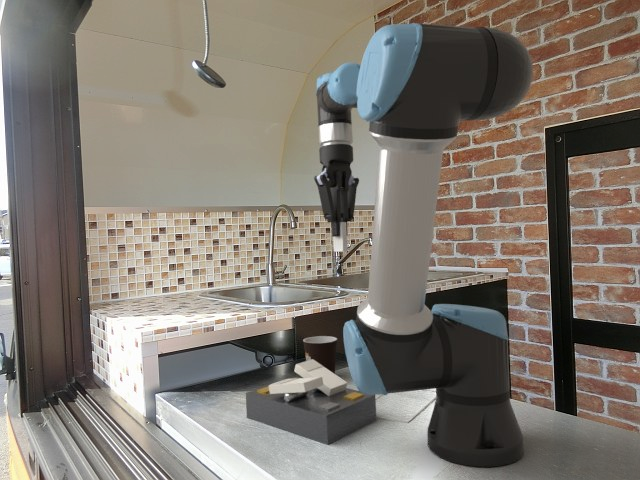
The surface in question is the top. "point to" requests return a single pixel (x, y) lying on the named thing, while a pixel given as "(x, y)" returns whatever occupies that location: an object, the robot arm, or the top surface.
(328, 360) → the coffee mug
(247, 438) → the top surface
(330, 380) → the rocker right
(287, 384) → the rocker left
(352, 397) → the switch unit
